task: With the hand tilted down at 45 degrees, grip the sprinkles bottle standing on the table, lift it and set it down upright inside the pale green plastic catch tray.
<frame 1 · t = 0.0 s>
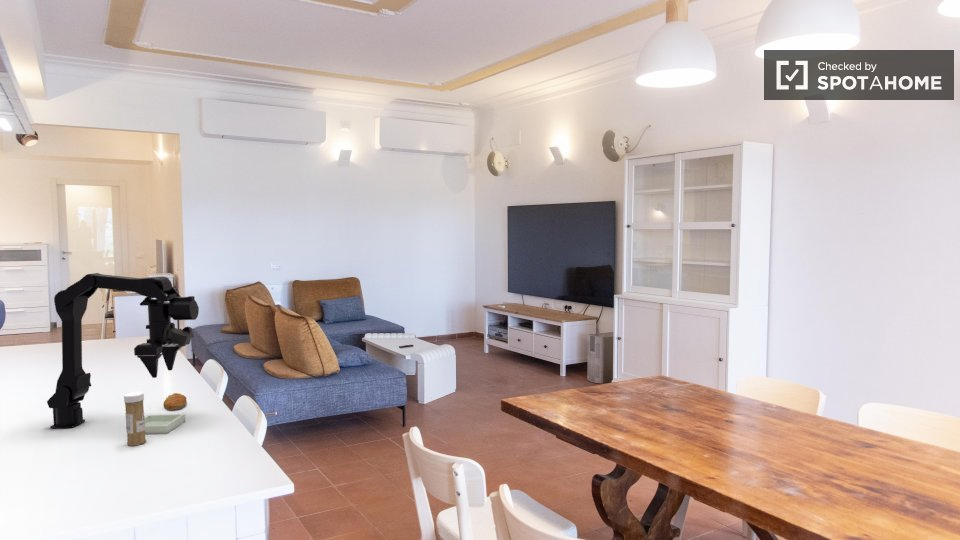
hand: (162, 373, 188), 15 cm above the kitchen island, tool pointing down, fingers open, 9 cm apart
pastry: (176, 407, 207), on the kitchen island
sprinkles bottle: (136, 444, 172), on the kitchen island
catch tray: (157, 427, 185), on the kitchen island
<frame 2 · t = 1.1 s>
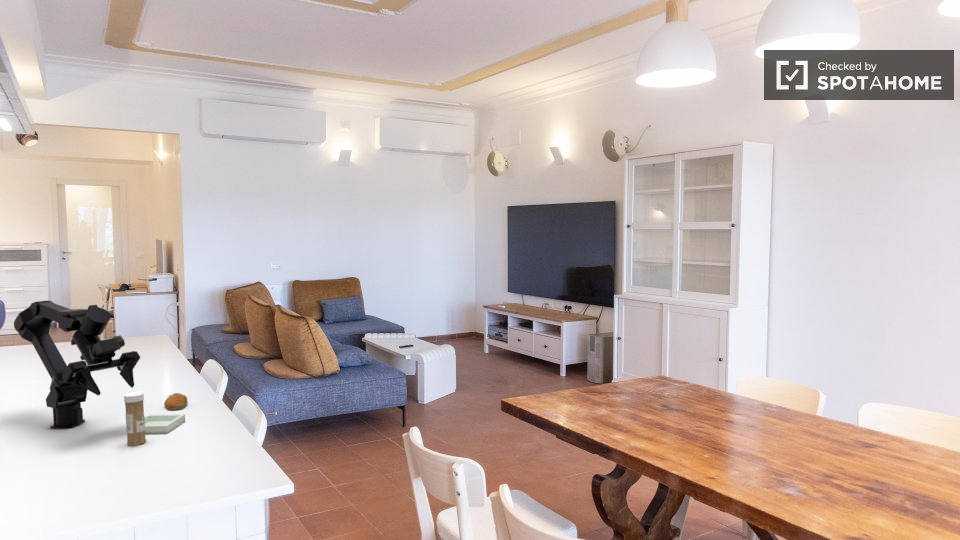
hand: (116, 390, 175), 13 cm above the kitchen island, tool tilted 45°, fingers open, 9 cm apart
nothing on the kitchen island moved.
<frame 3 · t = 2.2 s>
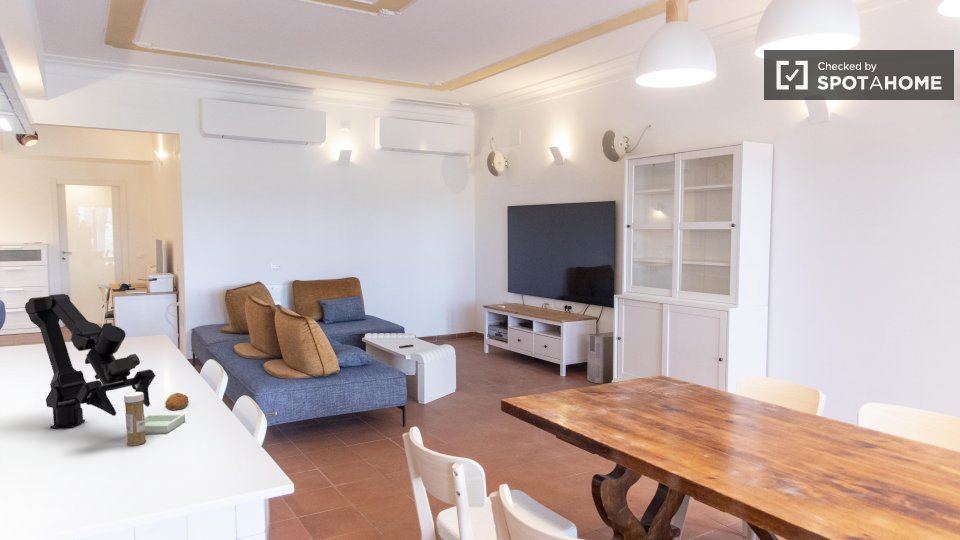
hand: (132, 410, 172), 9 cm above the kitchen island, tool tilted 45°, fingers open, 9 cm apart
nothing on the kitchen island moved.
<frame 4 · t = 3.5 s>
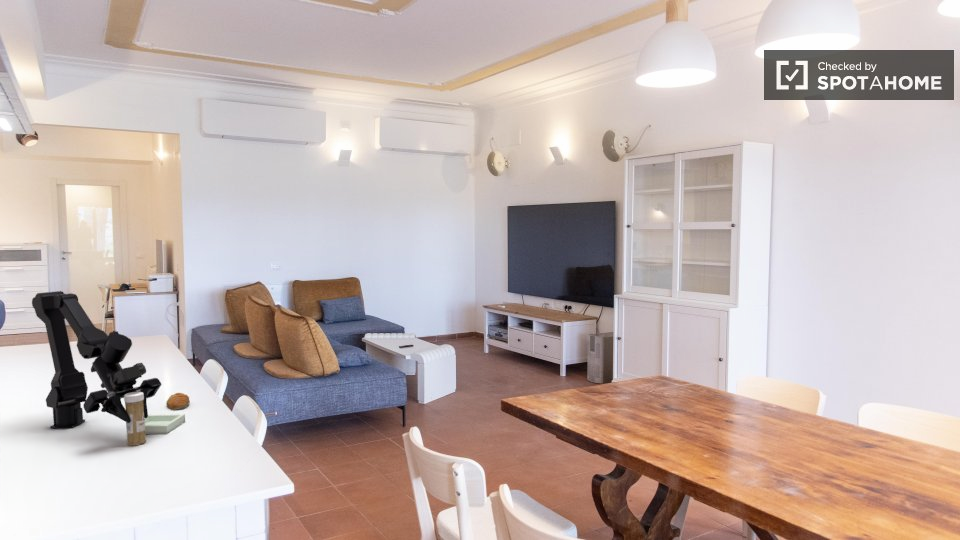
hand: (138, 419, 170), 7 cm above the kitchen island, tool tilted 45°, fingers closed on sprinkles bottle, 4 cm apart
sprinkles bottle: (136, 444, 172), on the kitchen island, touching gripper
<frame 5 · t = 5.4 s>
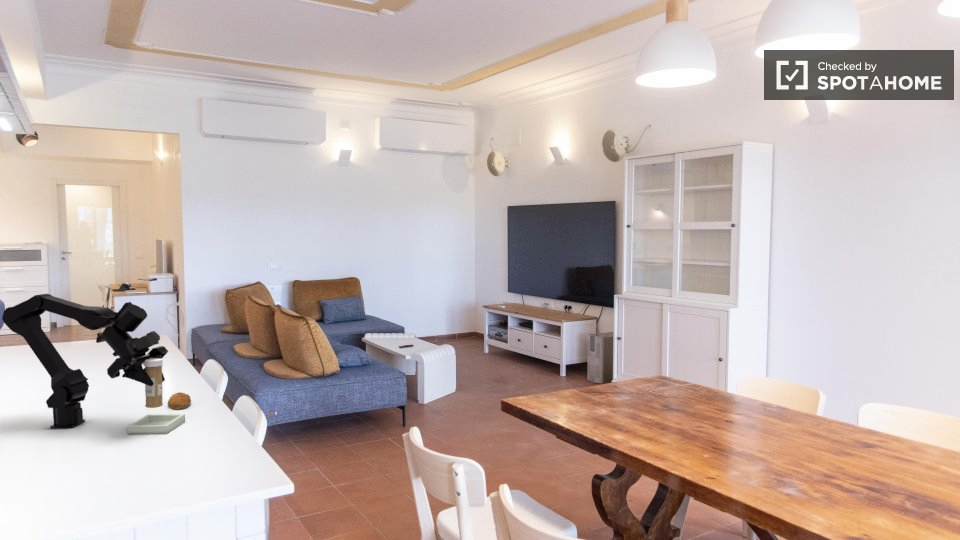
hand: (158, 383, 183), 13 cm above the kitchen island, tool tilted 45°, fingers closed on sprinkles bottle, 4 cm apart
sprinkles bottle: (153, 407, 183), point 6 cm above the kitchen island, touching gripper
when the fingers open (8 cm above the kitchen island, at t = 6.7 s): sprinkles bottle stays where it is, resting on catch tray.
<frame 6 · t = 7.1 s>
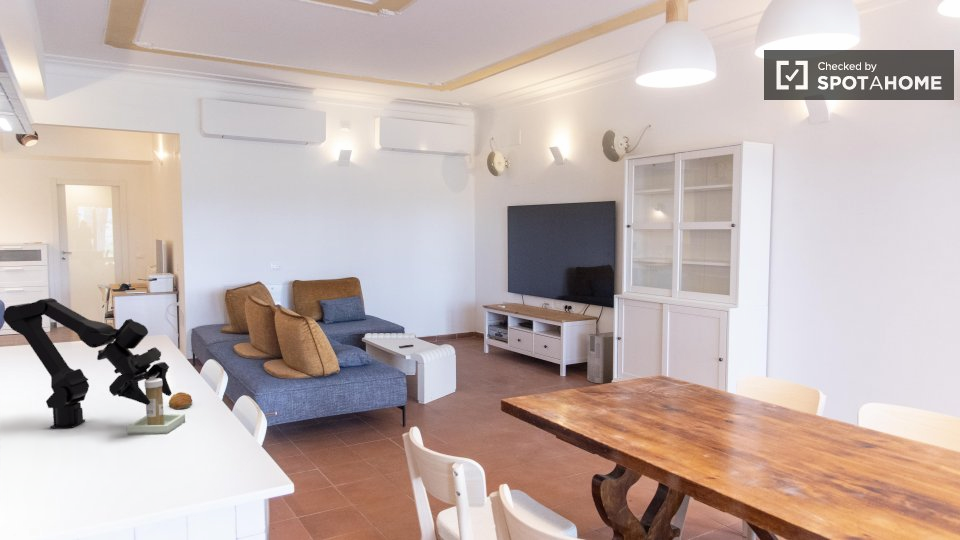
hand: (160, 399, 184), 8 cm above the kitchen island, tool tilted 45°, fingers open, 9 cm apart
sprinkles bottle: (155, 426, 184), resting on catch tray
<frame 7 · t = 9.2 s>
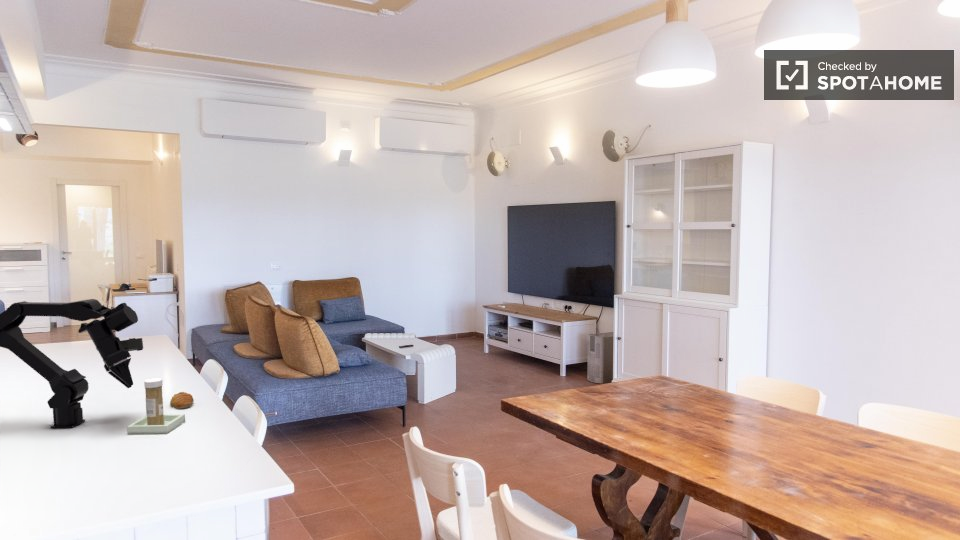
hand: (130, 386, 188), 11 cm above the kitchen island, tool tilted 25°, fingers open, 9 cm apart
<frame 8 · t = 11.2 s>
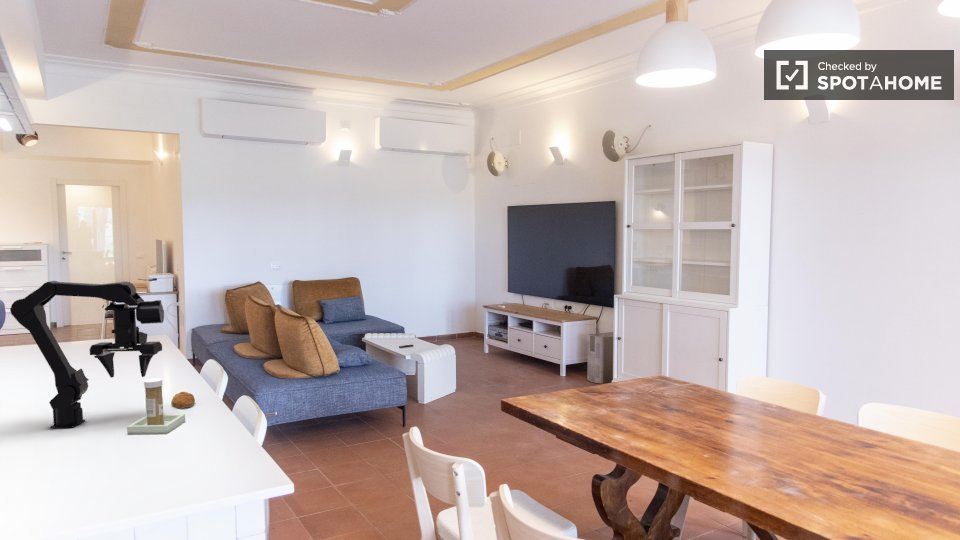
hand: (127, 377, 192), 13 cm above the kitchen island, tool pointing down, fingers open, 9 cm apart
at the end: sprinkles bottle inside the target area on the catch tray (0.4 cm from its centre), point 0.4 cm above the catch tray's base; sprinkles bottle tilted 0°; the gripper is holding nothing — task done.
